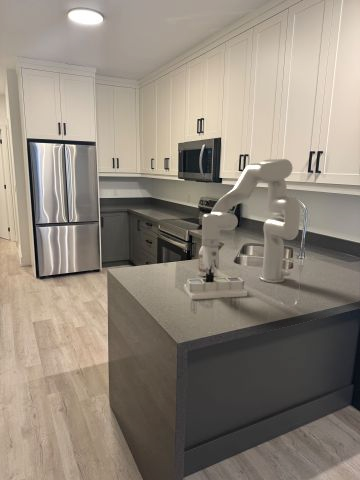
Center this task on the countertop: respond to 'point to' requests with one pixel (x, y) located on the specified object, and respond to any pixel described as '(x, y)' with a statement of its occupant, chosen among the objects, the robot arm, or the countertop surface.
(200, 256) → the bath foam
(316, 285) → the countertop surface
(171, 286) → the countertop surface
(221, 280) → the key
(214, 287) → the white compartment tray
